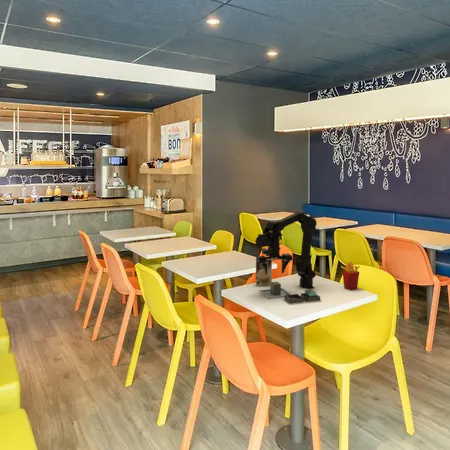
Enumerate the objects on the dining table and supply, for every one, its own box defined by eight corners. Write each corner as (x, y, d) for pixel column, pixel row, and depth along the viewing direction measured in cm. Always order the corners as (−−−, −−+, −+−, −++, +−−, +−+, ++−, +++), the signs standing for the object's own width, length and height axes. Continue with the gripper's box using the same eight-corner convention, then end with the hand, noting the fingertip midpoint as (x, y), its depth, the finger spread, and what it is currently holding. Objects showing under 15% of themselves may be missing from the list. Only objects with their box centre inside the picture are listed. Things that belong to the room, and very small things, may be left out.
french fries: (359, 289, 238) (360, 262, 236) (348, 291, 235) (348, 264, 233) (348, 285, 246) (349, 259, 244) (337, 287, 243) (337, 261, 241)
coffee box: (255, 287, 246) (255, 259, 243) (255, 284, 252) (255, 257, 250) (271, 287, 245) (271, 259, 243) (271, 284, 251) (271, 257, 249)
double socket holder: (314, 297, 225) (315, 288, 224) (322, 302, 217) (322, 292, 216) (282, 300, 221) (282, 291, 220) (288, 305, 213) (288, 295, 212)
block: (277, 292, 233) (277, 281, 232) (280, 295, 228) (280, 284, 227) (270, 293, 232) (270, 282, 231) (273, 295, 227) (273, 284, 226)
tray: (282, 290, 238) (282, 287, 238) (291, 297, 225) (291, 294, 225) (259, 292, 235) (259, 290, 235) (268, 300, 222) (268, 297, 222)
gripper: (284, 241, 237) (284, 269, 239) (252, 243, 232) (252, 272, 235) (292, 244, 226) (293, 273, 229) (259, 247, 222) (259, 277, 224)
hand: (274, 274), depth 229 cm, fingers open, 9 cm apart
